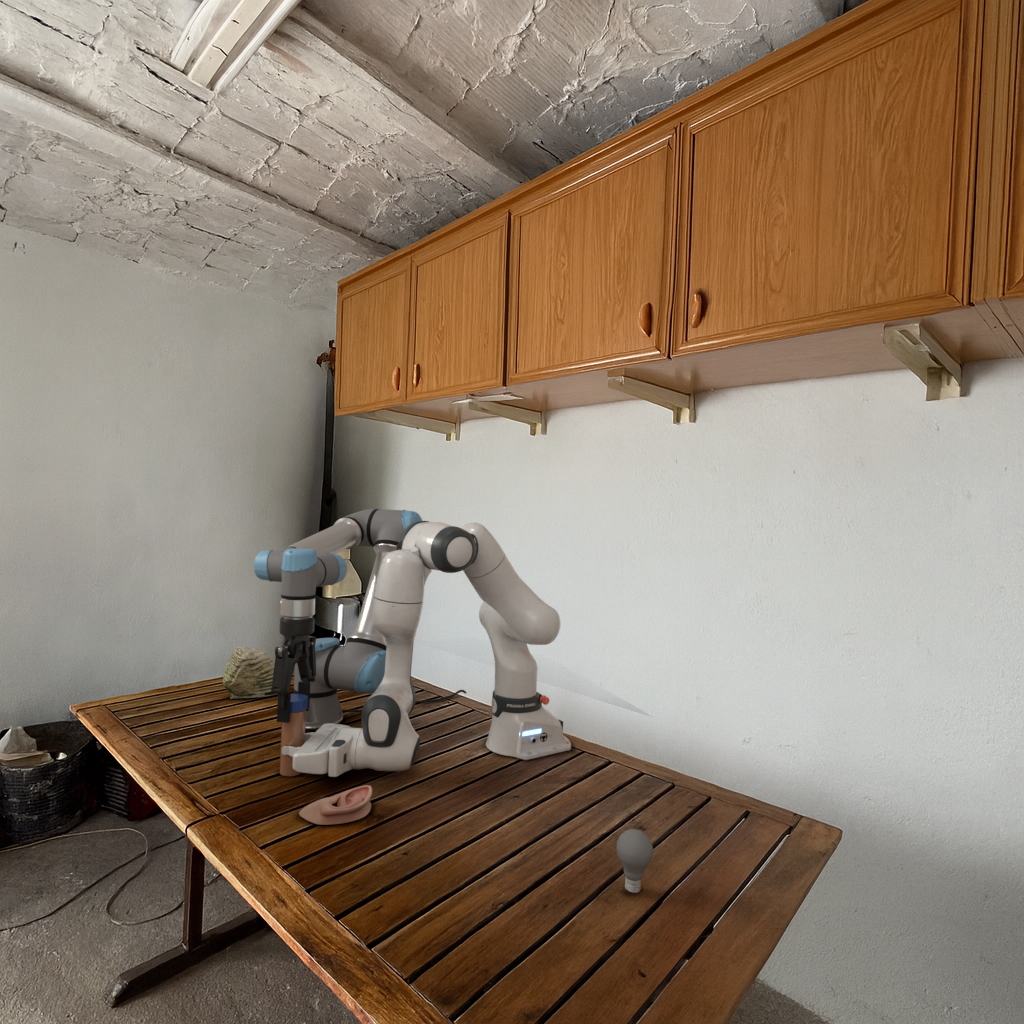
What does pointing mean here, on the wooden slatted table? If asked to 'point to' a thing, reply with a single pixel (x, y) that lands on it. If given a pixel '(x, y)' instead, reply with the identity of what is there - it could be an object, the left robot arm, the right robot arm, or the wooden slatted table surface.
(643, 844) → the light bulb
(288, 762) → the jar
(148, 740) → the wooden slatted table surface
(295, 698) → the lid
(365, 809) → the anatomical model
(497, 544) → the right robot arm
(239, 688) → the fossil
